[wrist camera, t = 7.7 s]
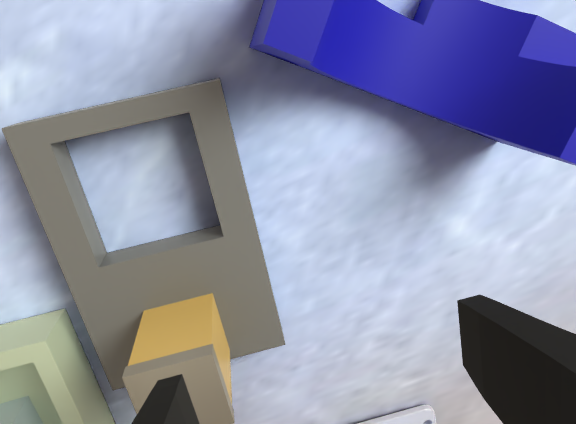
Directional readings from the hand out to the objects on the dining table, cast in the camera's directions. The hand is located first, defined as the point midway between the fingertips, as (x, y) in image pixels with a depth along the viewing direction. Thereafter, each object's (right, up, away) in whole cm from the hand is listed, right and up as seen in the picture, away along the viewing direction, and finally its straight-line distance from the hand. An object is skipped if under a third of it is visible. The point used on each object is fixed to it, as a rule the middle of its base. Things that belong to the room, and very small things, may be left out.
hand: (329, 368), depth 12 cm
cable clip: (+4, +11, +8) cm, 14 cm away
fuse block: (-6, +3, +9) cm, 11 cm away
